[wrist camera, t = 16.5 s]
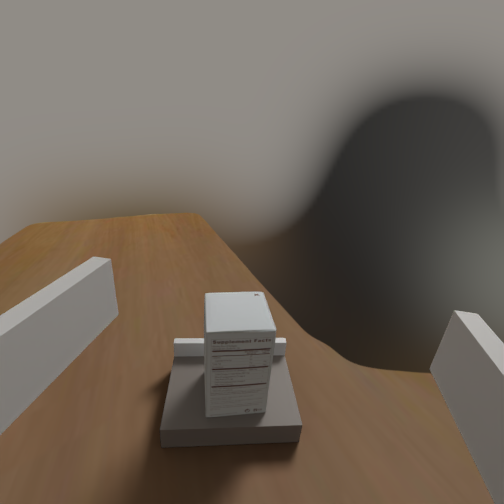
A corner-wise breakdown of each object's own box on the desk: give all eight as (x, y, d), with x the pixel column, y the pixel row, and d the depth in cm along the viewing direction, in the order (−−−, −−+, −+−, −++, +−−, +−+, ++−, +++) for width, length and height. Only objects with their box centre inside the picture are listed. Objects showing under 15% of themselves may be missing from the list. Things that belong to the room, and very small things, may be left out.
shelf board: (280, 363, 47) (284, 336, 45) (298, 441, 36) (305, 410, 34) (176, 364, 45) (175, 336, 43) (161, 447, 34) (158, 415, 32)
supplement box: (203, 370, 41) (204, 290, 36) (257, 367, 42) (265, 289, 37) (203, 420, 34) (204, 331, 29) (267, 414, 35) (278, 328, 30)
